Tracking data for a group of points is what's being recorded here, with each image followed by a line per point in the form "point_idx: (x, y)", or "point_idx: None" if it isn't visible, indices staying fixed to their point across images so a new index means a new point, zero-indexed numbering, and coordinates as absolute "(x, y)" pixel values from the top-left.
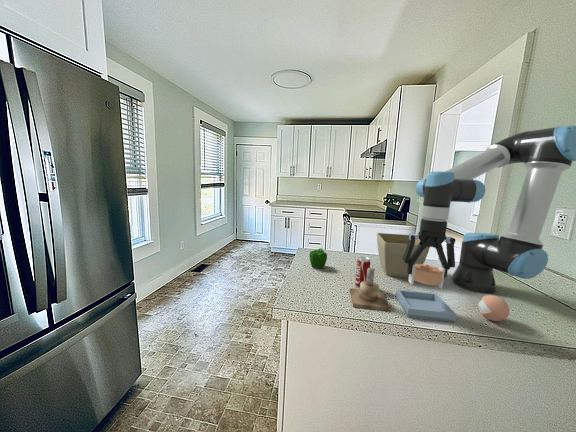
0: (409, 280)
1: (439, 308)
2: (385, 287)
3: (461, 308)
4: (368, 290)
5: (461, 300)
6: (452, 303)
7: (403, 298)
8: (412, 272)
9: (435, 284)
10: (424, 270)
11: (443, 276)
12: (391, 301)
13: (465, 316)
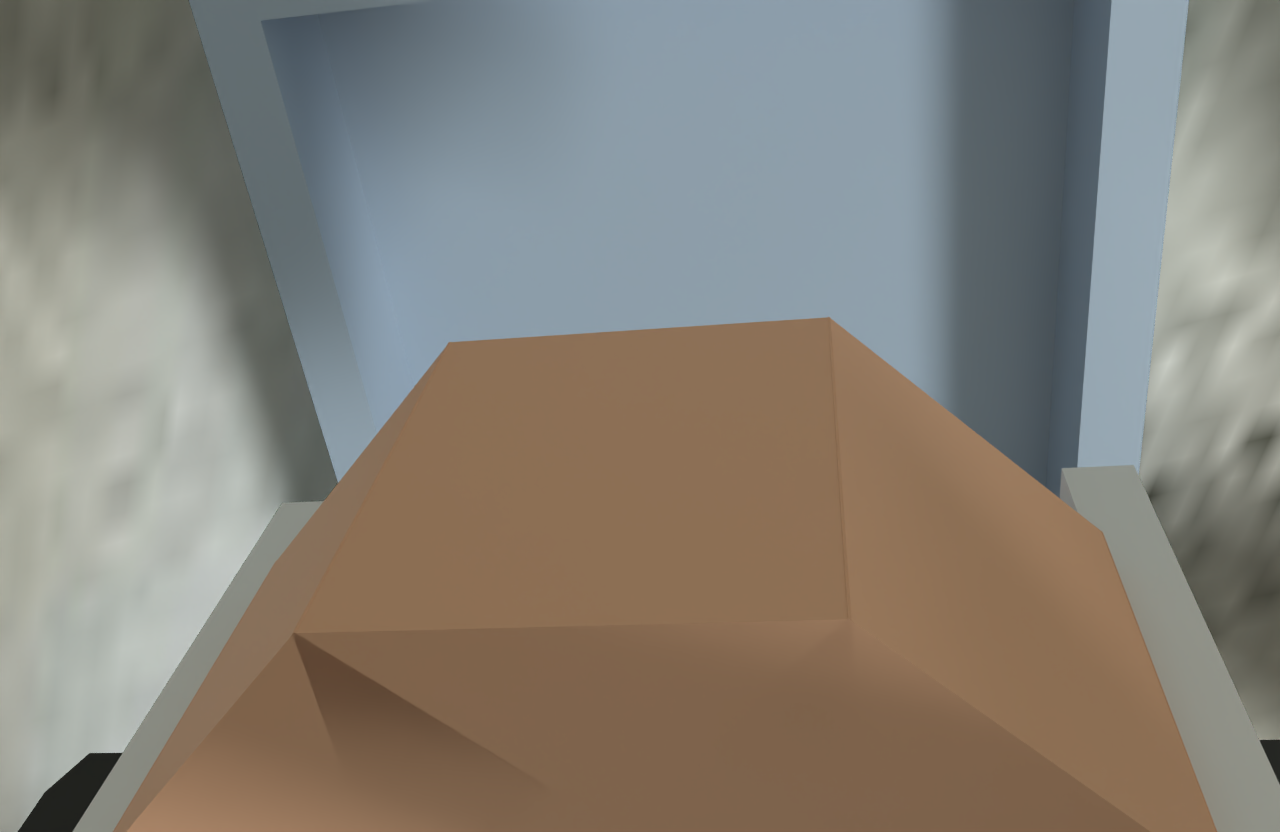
0: None
1: (425, 301)
2: None
3: (86, 459)
4: None
5: (63, 683)
6: (194, 572)
7: (1123, 314)
8: (1266, 771)
9: (478, 352)
10: (862, 822)
11: (141, 744)
12: (1237, 372)
13: (53, 221)
